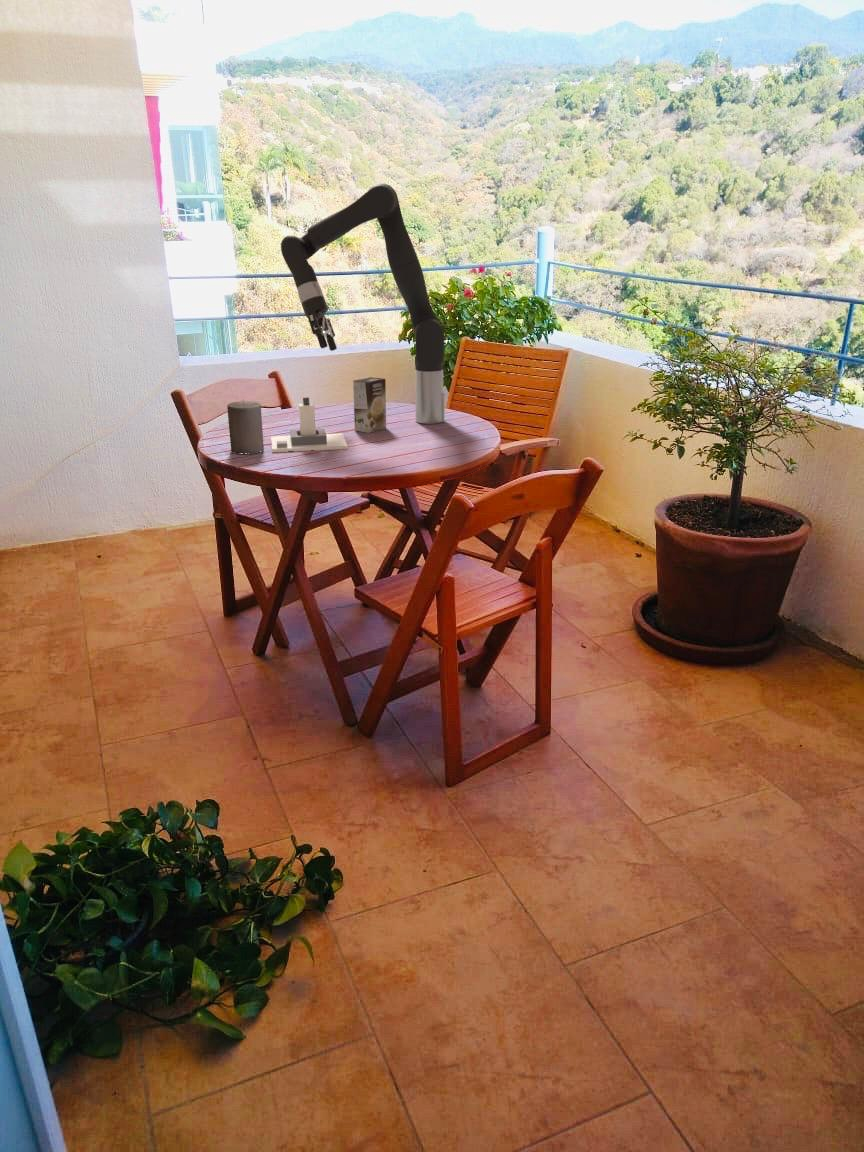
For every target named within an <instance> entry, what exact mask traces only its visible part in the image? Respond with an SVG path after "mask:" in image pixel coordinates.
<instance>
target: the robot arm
mask: <svg viewBox="0 0 864 1152" xmlns="http://www.w3.org/2000/svg"><path fill="white" fill-rule="evenodd" d="M398 197H399V196H398V194H397V191H396V190H395V189H394V187H392V186H391V185H389V184H388V183H376V184H375V185H372V186H371V187H370V188H369V189H368V190H367V191H366V192H365V193H363V194H362V195H361V196H360V197H359V198H358V199H357V200H355V201H353V202H352V203H350V204H349V205H347V206H346V207H345V208H342V209H340V210H339V211H336V212H334V213H332V214H330V215H329V216H327V217H324V218H323V219H321V220H319V221H317V222H315V223H314V224H313V225H311V226H310V227H308V229H307V231H306V234H304V235H303V236H301V237H297V236H296V235H293V234H291V235H290V234H289V235H286V236H284V237H283V238H282V240H281V243H280V251H281V255H282V257H283V260H284V262H285V263H286V265H287V267H288V269H289V271H290V273H291V275H292V277H293V280H294V285H295V287H296V291H297V295H298V297H299V300H300V304H301V306H302V309H303V313H304V315H305V317H306V319H308V322H309V327H310V329H311V332H312V335H314V336H315V337H316V338H317V341H318V344H319V347H320V349H325V348H327V347H329V351H330V352H333V351H336V350H337V349H338V348H337V345H336V344H337V343H336V341H335V339H334V338H335V337H336V334H335V331H334V329H333V325H332V323H331V320H330V318H326V315H325V314H326V313H327V312H328V311H329V307H328V305H327V302H326V298H325V297H324V292H323V289H322V288H321V286H320V283H319V282H318V278H317V275H316V272H315V270H314V268H313V266H312V265H311V264H310V263H309V261H308V260H309V259H310V258H311V257H313V256H314V255H315V254H316V253H317V252H318V251H319V250H321V249H323V247H326V246H328V245H330V244H331V243H333V242H334V241H337V240H339V239H340V238H341V237H343V236H344V235H346V234H348V233H349V232H350V231H352V230H353V229H355V228H356V227H358V226H360V225H362V224H365V223H367V222H369V221H372V220H375V219H376V221H378V224H379V226H380V229H381V231H382V232H381V233H382V234H383V238H384V243H385V249H386V250H385V251H386V254H387V260H388V266H389V269H390V271H391V274H392V276H393V280H394V281H395V284H396V286H397V288H398V291H399V294H400V295H401V297H402V299H403V301H404V304H405V305H406V308H407V310H408V312H409V318H410V319H411V320H410V321H411V324H412V328H413V329H412V330H413V332H414V333H413V334H414V337H415V360H414V361H415V362H414V363H415V364H414V367H415V368H414V369H415V373H414V375H415V377H414V378H415V379H414V381H415V383H414V384H415V421H416V423H420V424H425V425H429V424H431V425H432V424H440V423H445V400H446V399H445V398H446V397H445V393H444V360H445V332H444V328H443V326H442V325H441V324H440V322H439V320H438V318H437V316H436V315H435V313H434V309H433V307H432V305H431V303H430V300H429V296H428V291H427V285H426V281H425V275H424V272H423V269H422V266H421V263H420V260H419V257H418V255H417V252H416V250H415V248H414V245H413V243H412V239H411V238H410V234H409V233H408V231H407V227H406V226H405V222H404V221H405V220H404V218H403V214H402V210H401V206H400V202H399V198H398Z"/></svg>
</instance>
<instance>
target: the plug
mask: <svg viewBox="0 0 864 1152" xmlns="http://www.w3.org/2000/svg"><path fill="white" fill-rule="evenodd" d="M315 411H316V410H315V405H314V402H310V397H308V396H307V397H305V396H304V397H302V403H298V415H299V416H298V417H299V419H298V420H299V430H300V434H301V435H316V429H317V428H316V413H315Z"/></svg>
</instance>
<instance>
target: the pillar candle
mask: <svg viewBox="0 0 864 1152" xmlns="http://www.w3.org/2000/svg"><path fill="white" fill-rule="evenodd" d="M226 406H227V407H226V409H227V417H228V418H227V419H228V430H229V440H230V452H231V451H232V452H235V453H243V454H242V455H249V454H248V453H256V454H258V453H257V452H260V451H262V452H264V451H263V450H265V449H264V448H265V447H264V432H263V429H264V428H263V419H262V418H263V417H262V404H261V403H260V402H257V401H249V400H248V401H247V400H242V401H232V402H230V403H227V405H226ZM232 452H231V453H232ZM235 453H234V454H235ZM245 453H247V454H245ZM260 453H261V452H260Z"/></svg>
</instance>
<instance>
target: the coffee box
mask: <svg viewBox="0 0 864 1152" xmlns="http://www.w3.org/2000/svg"><path fill="white" fill-rule="evenodd" d="M386 381H387V380H386V378H382V377H373V376H372V377H371V376H370V377H365V378H359V379H355V380H354V379H353V381H352V383H353V386H352V387H353V411H354V412H353V414H354V415H353V416H354V417H353V418H354V421H353V422H354V431H356V432H362V433H367V434H369V433H373V432H378V431H381V430H384V429H387V398H386V397H387V396H386V395H387V393H386V392H387V390H386V389H387V388H386V386H387V384H386Z"/></svg>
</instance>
